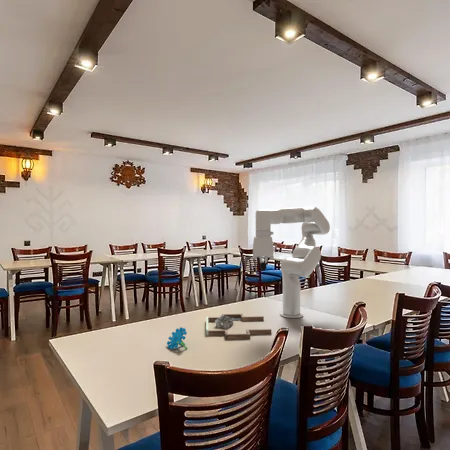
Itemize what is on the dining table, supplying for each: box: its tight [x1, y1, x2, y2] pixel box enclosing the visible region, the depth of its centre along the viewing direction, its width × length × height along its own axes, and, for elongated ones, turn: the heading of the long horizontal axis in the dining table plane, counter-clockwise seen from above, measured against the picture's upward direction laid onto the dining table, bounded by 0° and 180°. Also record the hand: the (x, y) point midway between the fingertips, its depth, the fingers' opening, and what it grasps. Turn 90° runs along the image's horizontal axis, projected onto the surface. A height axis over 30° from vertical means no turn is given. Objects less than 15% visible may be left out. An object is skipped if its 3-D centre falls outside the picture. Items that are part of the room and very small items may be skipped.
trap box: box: [207, 313, 272, 340], centre depth 165 cm, size 33×29×2 cm
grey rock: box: [214, 314, 234, 329], centre depth 169 cm, size 11×8×4 cm
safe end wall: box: [205, 316, 209, 337], centre depth 165 cm, size 22×1×2 cm, turn 3°
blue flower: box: [166, 326, 188, 350], centre depth 140 cm, size 11×6×10 cm
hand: (263, 270), depth 171 cm, fingers closed
